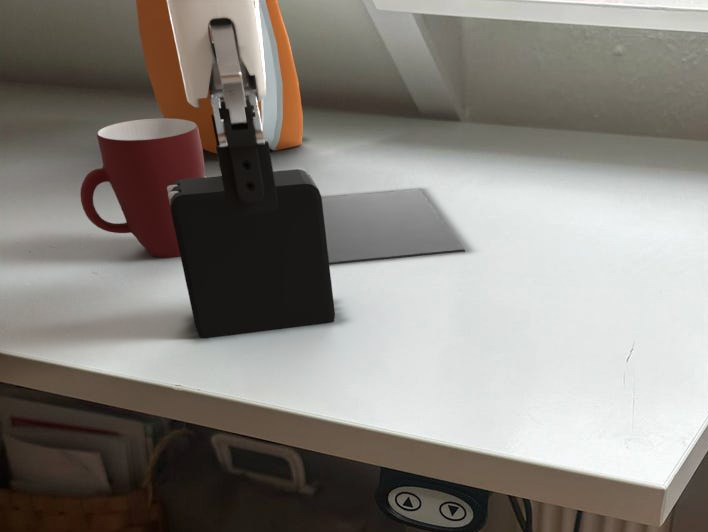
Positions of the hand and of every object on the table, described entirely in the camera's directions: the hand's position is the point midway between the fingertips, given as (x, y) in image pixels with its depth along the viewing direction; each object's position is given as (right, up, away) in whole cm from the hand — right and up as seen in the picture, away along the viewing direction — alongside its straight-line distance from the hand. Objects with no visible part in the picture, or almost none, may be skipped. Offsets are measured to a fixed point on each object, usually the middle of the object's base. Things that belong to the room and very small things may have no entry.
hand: (249, 192), depth 64 cm
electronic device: (0, -7, +6) cm, 10 cm away
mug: (-12, +3, +19) cm, 23 cm away
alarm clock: (-14, +31, +52) cm, 62 cm away
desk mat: (+2, +7, +23) cm, 24 cm away
